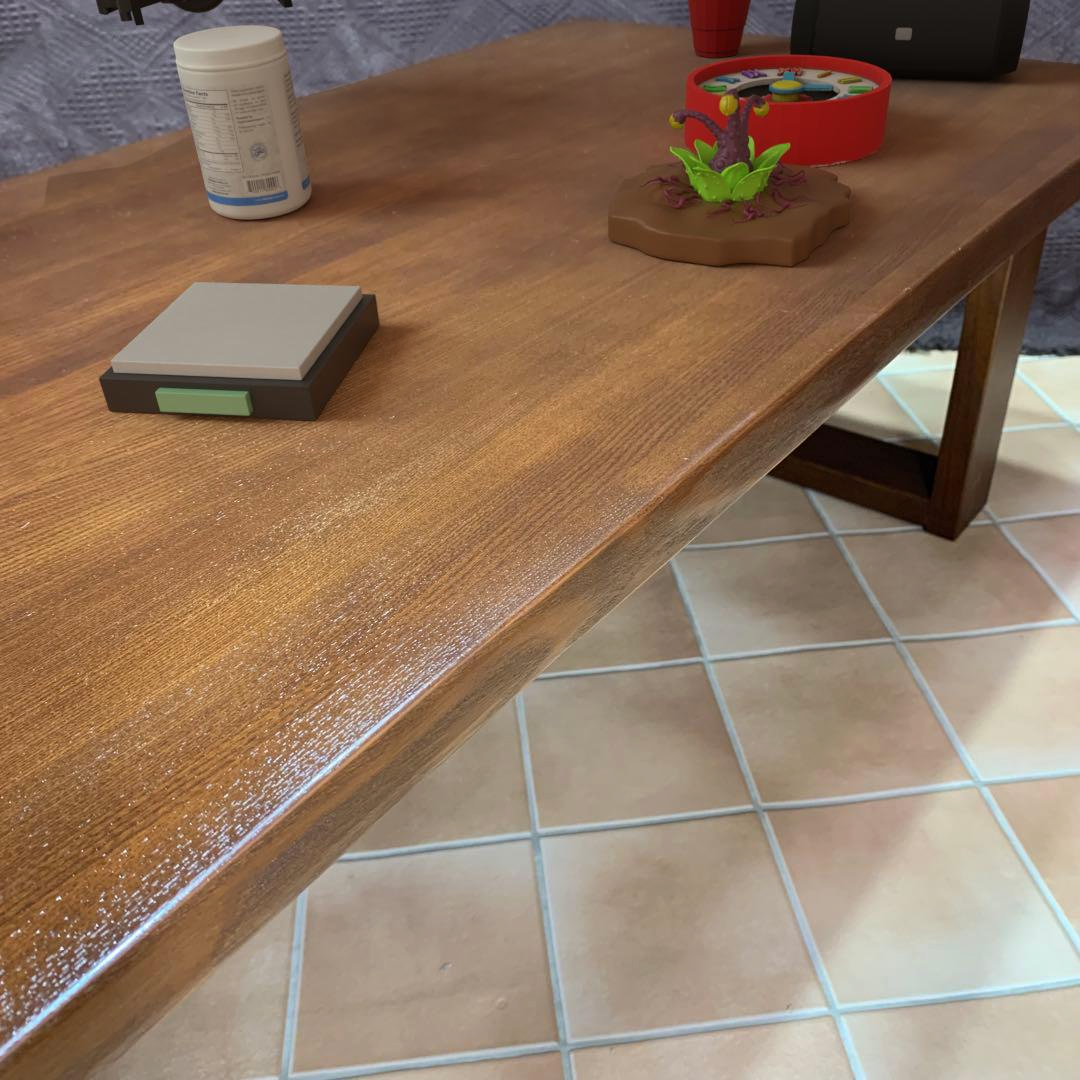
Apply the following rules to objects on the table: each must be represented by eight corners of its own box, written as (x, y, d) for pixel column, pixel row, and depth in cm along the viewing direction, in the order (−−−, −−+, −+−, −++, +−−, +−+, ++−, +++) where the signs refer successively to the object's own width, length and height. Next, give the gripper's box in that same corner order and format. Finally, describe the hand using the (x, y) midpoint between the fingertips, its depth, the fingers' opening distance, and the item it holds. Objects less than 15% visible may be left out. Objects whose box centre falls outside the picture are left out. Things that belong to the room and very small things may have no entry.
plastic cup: (738, 65, 137) (744, -41, 130) (662, 58, 142) (664, -45, 135) (772, 47, 144) (780, -54, 137) (699, 41, 149) (703, -57, 142)
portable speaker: (785, 81, 129) (793, -11, 123) (798, 62, 136) (806, -26, 131) (1013, 89, 121) (1033, -9, 116) (1014, 69, 129) (1032, -24, 123)
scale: (104, 416, 69) (89, 369, 67) (200, 319, 80) (189, 277, 78) (312, 426, 66) (303, 378, 65) (380, 325, 78) (373, 281, 76)
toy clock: (674, 103, 101) (697, 54, 117) (672, 166, 105) (695, 110, 120) (895, 105, 97) (889, 54, 113) (886, 170, 101) (881, 112, 116)
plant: (575, 253, 88) (571, 109, 81) (646, 178, 102) (647, 51, 95) (824, 278, 81) (842, 124, 74) (862, 195, 96) (880, 60, 89)
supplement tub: (255, 184, 106) (222, 21, 98) (333, 194, 103) (307, 26, 94) (188, 216, 99) (146, 44, 91) (270, 228, 96) (235, 50, 87)
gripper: (57, -59, 110) (57, -31, 94) (299, -83, 116) (339, -61, 100) (79, 21, 114) (83, 61, 98) (311, -6, 121) (351, 27, 104)
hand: (212, 0), depth 99 cm, fingers open, 13 cm apart
